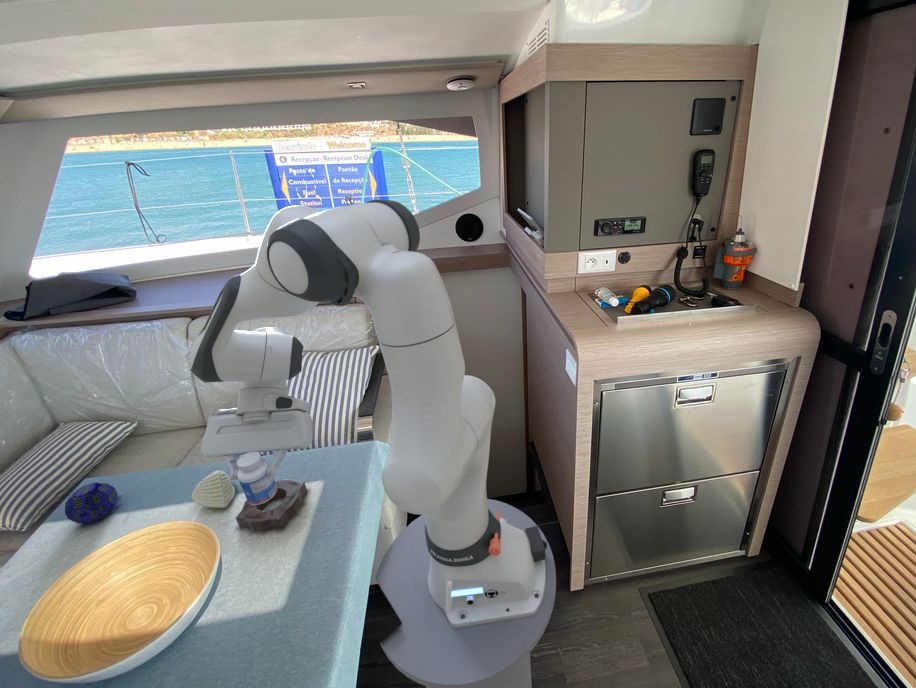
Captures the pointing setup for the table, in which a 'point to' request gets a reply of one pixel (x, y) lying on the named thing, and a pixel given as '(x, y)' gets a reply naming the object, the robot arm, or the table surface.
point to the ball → (91, 502)
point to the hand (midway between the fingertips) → (254, 477)
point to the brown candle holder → (278, 515)
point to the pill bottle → (255, 478)
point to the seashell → (214, 490)
